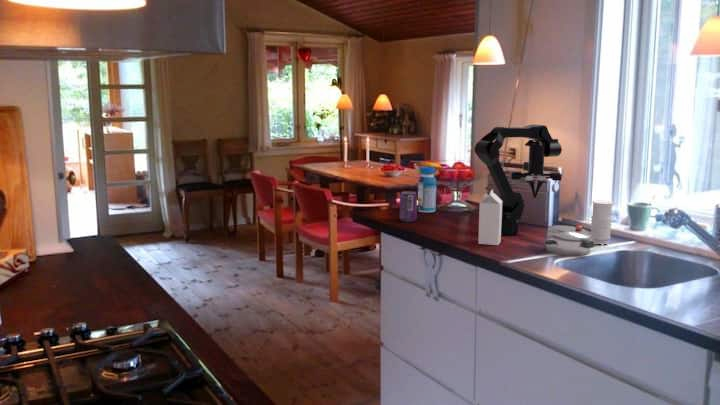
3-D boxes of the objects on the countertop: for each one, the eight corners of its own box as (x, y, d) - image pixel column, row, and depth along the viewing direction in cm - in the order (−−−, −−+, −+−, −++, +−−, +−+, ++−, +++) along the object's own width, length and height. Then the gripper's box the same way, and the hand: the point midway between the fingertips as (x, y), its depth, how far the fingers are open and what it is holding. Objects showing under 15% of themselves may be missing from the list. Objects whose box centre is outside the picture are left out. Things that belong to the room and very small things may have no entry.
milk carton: (500, 241, 233) (502, 189, 229) (498, 245, 226) (500, 192, 223) (481, 239, 235) (482, 188, 232) (478, 244, 228) (479, 191, 225)
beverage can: (419, 220, 270) (420, 192, 268) (411, 223, 264) (412, 194, 262) (404, 218, 274) (405, 190, 272) (396, 221, 268) (396, 192, 266)
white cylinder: (585, 241, 232) (588, 201, 230) (600, 240, 235) (603, 199, 232) (598, 246, 226) (601, 204, 224) (614, 244, 229) (617, 203, 226)
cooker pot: (531, 249, 221) (532, 235, 220) (572, 243, 230) (573, 229, 229) (567, 260, 207) (568, 245, 206) (610, 253, 216) (611, 238, 216)
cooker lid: (538, 230, 221) (538, 223, 220) (567, 226, 228) (568, 219, 227) (570, 243, 209) (571, 236, 208) (600, 238, 216) (601, 231, 215)
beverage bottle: (430, 213, 285) (431, 168, 281) (413, 211, 289) (414, 167, 286) (439, 210, 292) (440, 166, 288) (422, 208, 296) (423, 165, 293)
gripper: (559, 156, 252) (556, 195, 255) (510, 155, 255) (508, 193, 258) (562, 158, 241) (560, 199, 244) (511, 157, 245) (510, 198, 247)
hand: (534, 197), depth 249 cm, fingers closed
